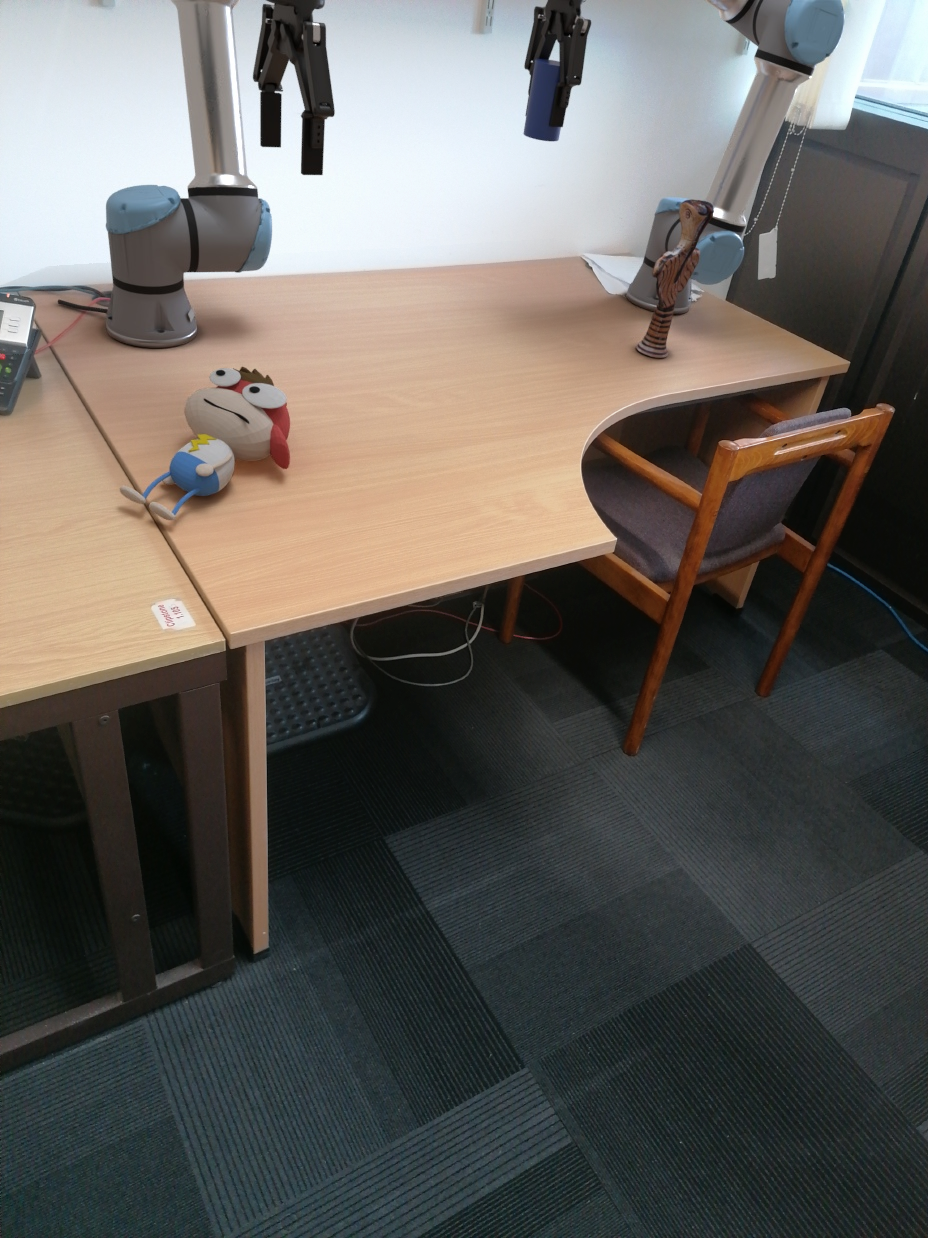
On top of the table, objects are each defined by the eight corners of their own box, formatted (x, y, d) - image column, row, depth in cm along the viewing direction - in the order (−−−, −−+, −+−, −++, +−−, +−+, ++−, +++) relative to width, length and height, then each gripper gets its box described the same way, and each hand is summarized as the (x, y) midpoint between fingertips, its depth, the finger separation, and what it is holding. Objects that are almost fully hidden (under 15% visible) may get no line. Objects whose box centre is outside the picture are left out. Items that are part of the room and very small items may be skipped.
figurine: (653, 337, 192) (695, 188, 173) (684, 349, 189) (731, 199, 170) (621, 353, 182) (662, 197, 163) (654, 366, 179) (700, 209, 160)
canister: (525, 137, 165) (537, 62, 157) (521, 130, 170) (533, 56, 163) (560, 142, 166) (574, 68, 158) (555, 135, 171) (569, 62, 163)
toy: (74, 438, 111) (231, 346, 131) (86, 500, 119) (233, 404, 138) (190, 502, 107) (335, 397, 127) (195, 561, 114) (330, 454, 134)
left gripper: (370, -17, 100) (357, 186, 113) (282, -46, 115) (280, 136, 128) (308, -25, 96) (302, 186, 109) (225, -53, 111) (229, 134, 124)
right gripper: (519, -40, 156) (498, 108, 170) (589, -23, 144) (559, 134, 159) (552, -35, 160) (529, 109, 174) (623, -19, 148) (591, 135, 162)
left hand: (290, 160), depth 119 cm, fingers open, 13 cm apart
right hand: (543, 120), depth 166 cm, fingers closed on canister, 7 cm apart
